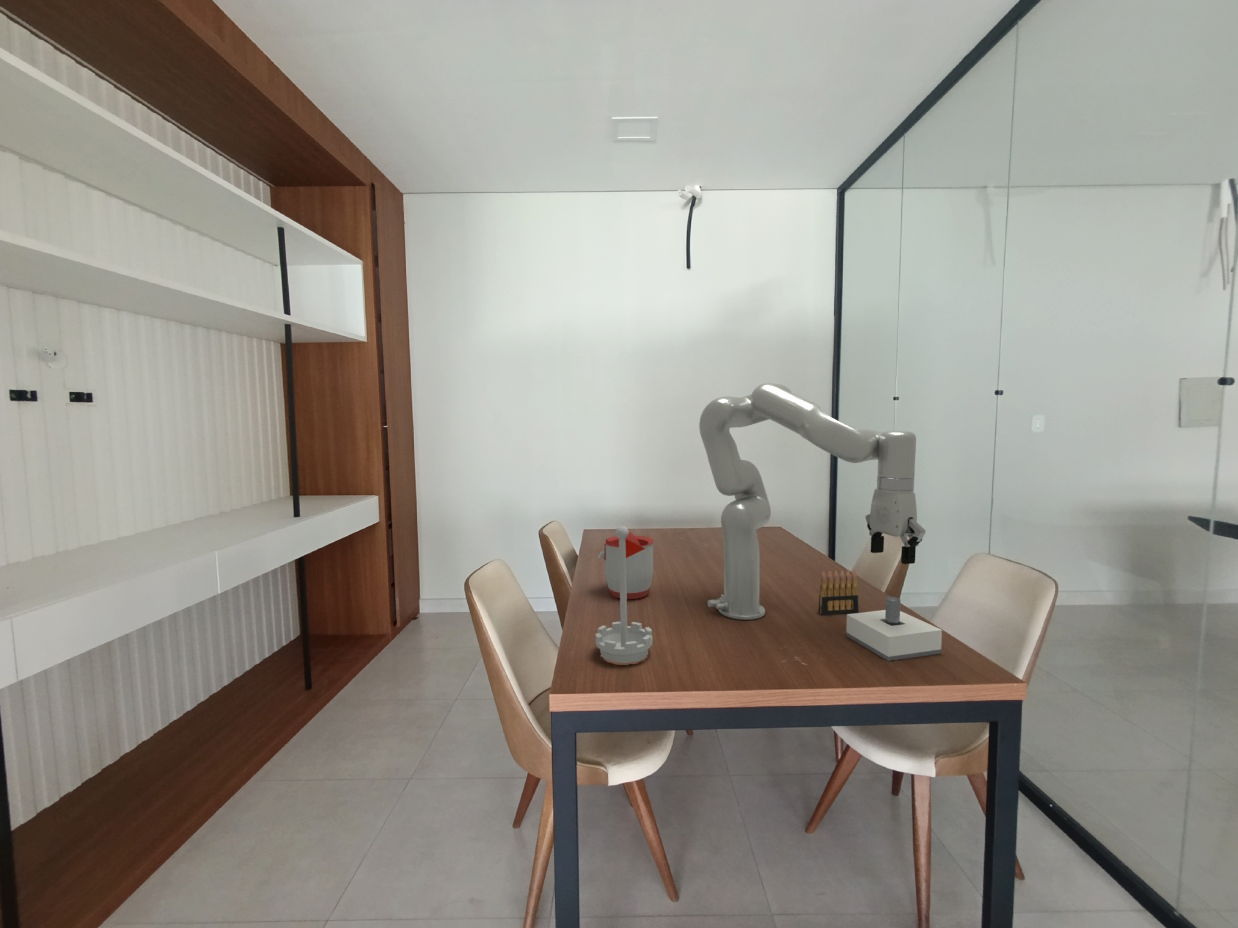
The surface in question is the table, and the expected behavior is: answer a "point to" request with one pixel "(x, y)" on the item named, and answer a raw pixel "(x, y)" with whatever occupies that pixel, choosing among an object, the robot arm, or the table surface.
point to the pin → (892, 611)
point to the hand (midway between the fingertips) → (891, 557)
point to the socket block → (894, 635)
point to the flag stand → (624, 618)
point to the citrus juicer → (629, 567)
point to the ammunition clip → (838, 594)
